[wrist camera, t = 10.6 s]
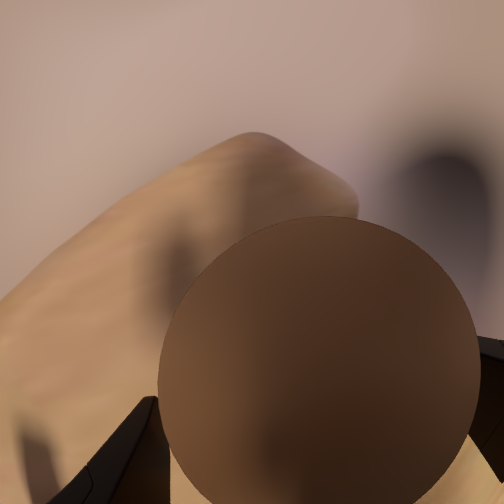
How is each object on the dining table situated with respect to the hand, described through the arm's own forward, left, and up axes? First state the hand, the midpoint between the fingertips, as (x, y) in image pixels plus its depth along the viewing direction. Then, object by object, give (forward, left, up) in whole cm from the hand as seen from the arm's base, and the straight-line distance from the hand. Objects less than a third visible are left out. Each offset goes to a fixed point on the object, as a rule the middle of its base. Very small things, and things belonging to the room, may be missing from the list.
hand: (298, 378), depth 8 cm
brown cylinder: (0, 0, -8) cm, 8 cm away
